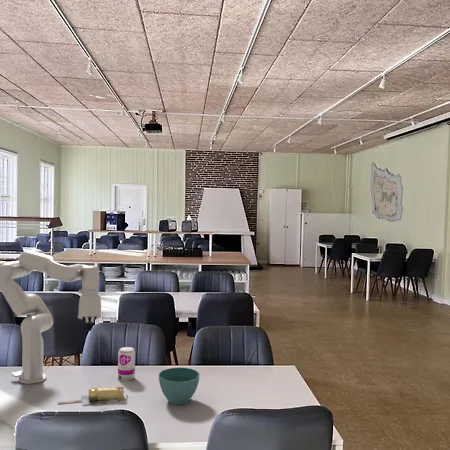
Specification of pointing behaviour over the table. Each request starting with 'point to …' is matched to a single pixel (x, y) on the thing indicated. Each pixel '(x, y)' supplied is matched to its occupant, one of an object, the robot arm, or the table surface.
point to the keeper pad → (119, 399)
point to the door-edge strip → (73, 401)
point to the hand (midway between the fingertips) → (89, 330)
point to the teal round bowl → (178, 384)
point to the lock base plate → (88, 402)
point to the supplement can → (126, 363)
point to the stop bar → (106, 393)
